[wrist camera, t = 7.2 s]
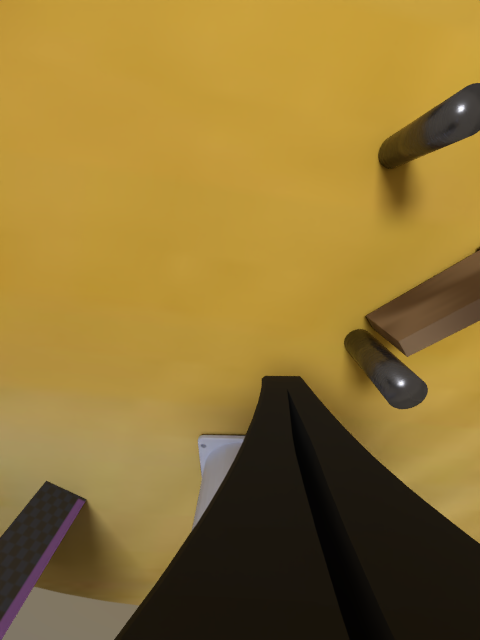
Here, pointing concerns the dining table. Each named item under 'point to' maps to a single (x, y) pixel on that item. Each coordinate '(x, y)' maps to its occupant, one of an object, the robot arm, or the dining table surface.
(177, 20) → the dining table surface
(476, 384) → the dining table surface
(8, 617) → the cereal box
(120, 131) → the dining table surface
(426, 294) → the brown wooden block
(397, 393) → the gate posts
